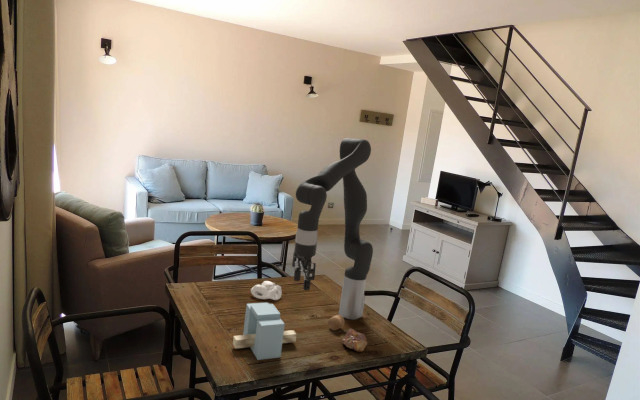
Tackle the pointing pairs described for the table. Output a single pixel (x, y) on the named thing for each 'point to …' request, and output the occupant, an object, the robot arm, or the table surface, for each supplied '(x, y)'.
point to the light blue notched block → (264, 329)
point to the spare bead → (336, 322)
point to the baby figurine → (267, 291)
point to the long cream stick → (249, 339)
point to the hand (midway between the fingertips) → (301, 285)
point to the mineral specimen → (354, 340)
